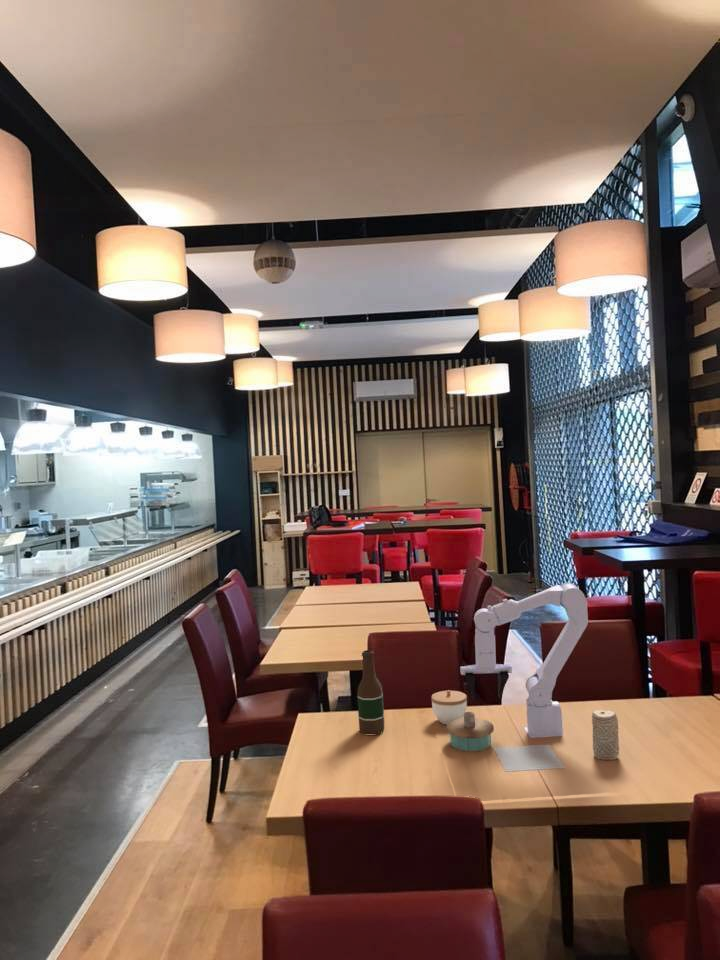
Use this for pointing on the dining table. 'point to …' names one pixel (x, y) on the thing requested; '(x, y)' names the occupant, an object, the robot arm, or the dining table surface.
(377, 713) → the beer bottle
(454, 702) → the lidded jar
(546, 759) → the mat
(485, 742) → the bowl
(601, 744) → the carving
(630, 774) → the dining table surface
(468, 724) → the lid
